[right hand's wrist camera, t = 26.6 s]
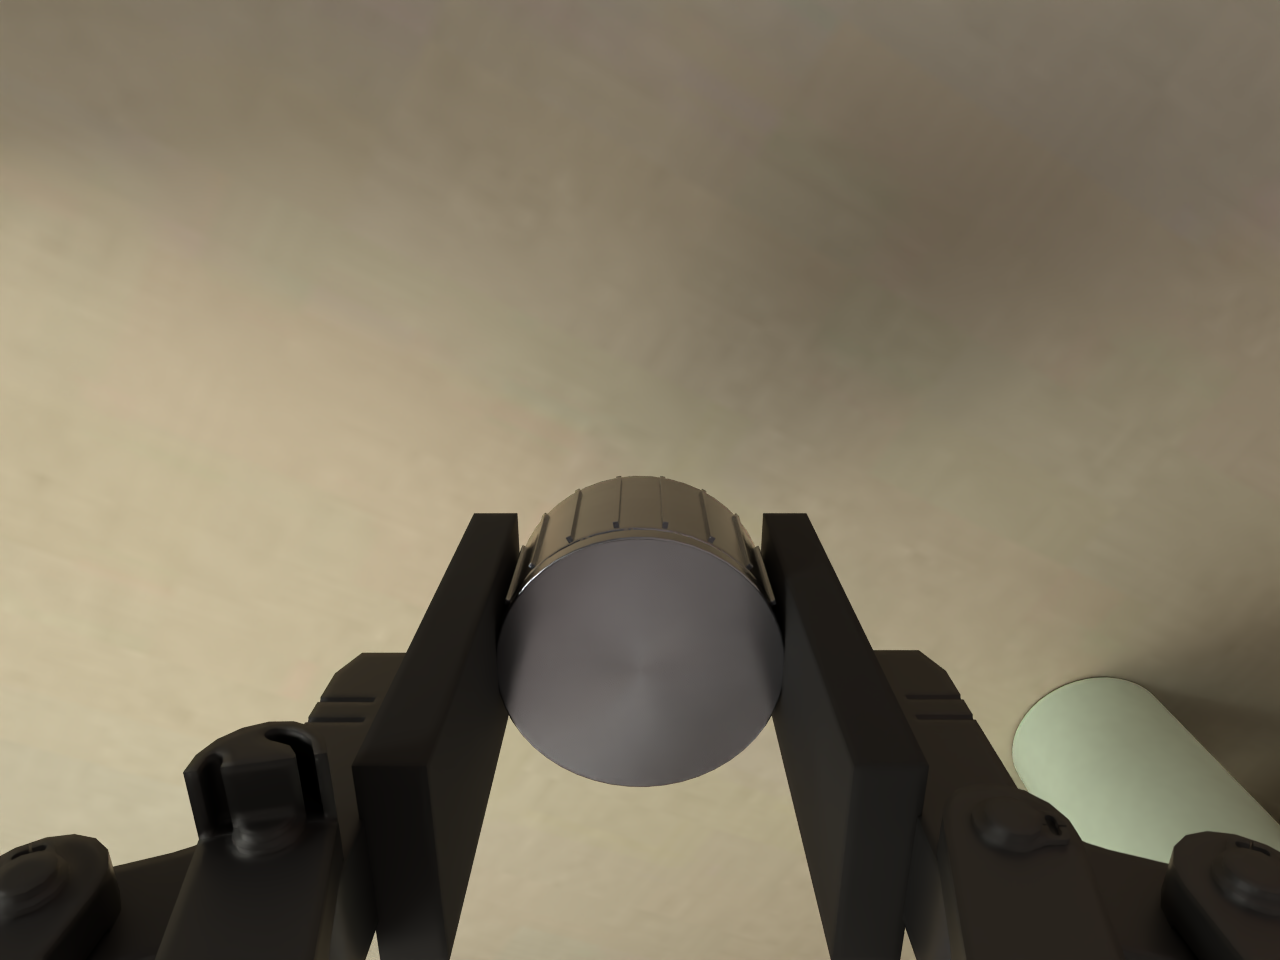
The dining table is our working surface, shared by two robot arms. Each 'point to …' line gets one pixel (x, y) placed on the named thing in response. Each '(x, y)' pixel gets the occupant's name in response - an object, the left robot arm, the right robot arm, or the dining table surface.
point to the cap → (640, 634)
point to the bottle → (1130, 771)
